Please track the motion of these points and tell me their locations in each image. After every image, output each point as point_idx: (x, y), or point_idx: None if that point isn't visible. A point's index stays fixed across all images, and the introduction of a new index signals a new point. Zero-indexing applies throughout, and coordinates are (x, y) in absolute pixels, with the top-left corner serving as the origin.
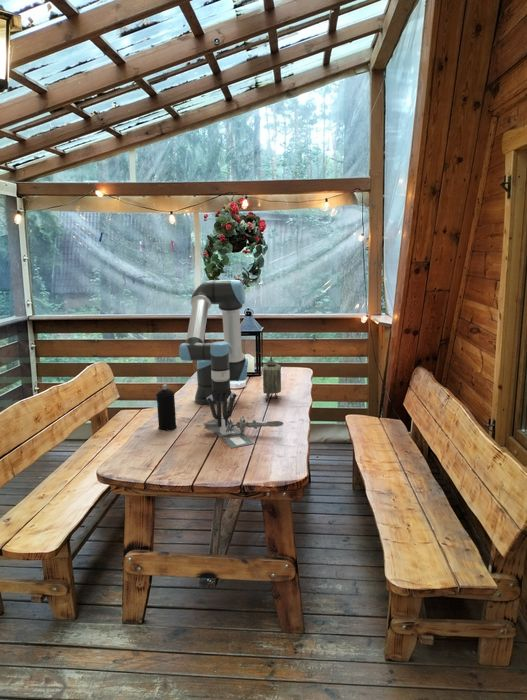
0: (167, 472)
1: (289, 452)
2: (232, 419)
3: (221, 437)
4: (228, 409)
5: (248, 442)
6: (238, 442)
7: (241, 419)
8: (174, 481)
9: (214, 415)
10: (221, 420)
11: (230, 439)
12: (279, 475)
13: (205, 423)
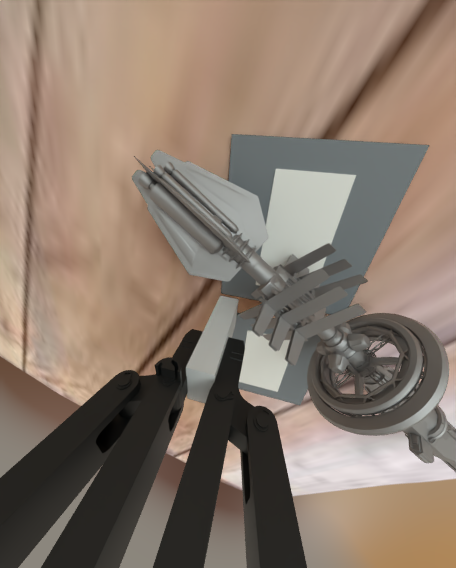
0: (54, 371)
1: (335, 471)
2: (338, 324)
3: (227, 292)
4: (250, 510)
5: (288, 391)
6: (256, 374)
7: (348, 422)
8: (72, 398)
9: (105, 430)
10: (189, 390)
11: (245, 339)
12: (240, 479)
13: (144, 167)
